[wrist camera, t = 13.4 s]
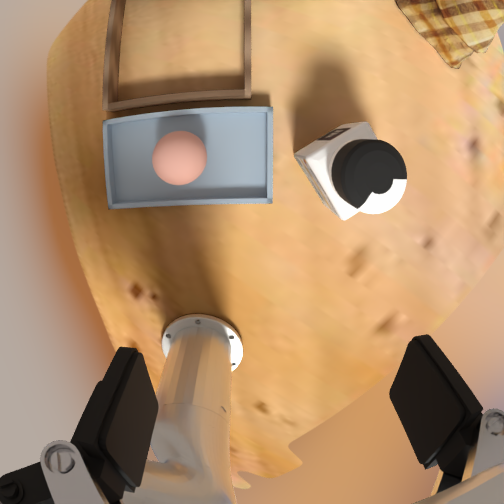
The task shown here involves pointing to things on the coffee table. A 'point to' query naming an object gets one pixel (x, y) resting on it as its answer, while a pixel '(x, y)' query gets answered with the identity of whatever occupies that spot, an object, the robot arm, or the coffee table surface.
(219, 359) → the robot arm
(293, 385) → the coffee table surface
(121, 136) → the tray
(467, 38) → the plaid cloth bag
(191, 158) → the ball
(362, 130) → the container
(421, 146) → the coffee table surface
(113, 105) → the wooden box frame
